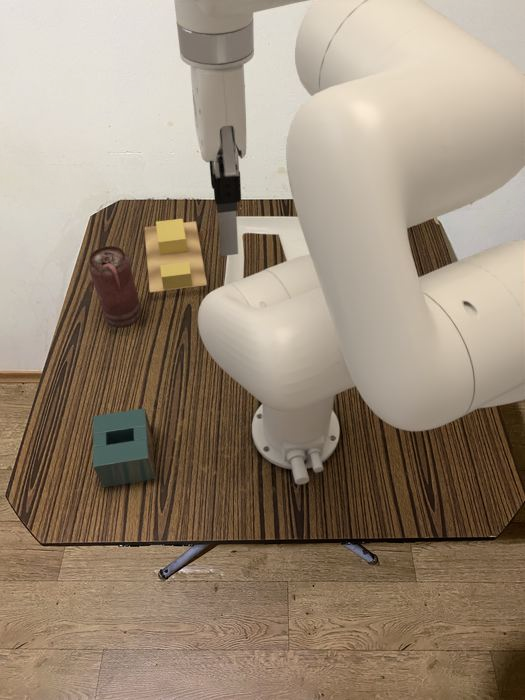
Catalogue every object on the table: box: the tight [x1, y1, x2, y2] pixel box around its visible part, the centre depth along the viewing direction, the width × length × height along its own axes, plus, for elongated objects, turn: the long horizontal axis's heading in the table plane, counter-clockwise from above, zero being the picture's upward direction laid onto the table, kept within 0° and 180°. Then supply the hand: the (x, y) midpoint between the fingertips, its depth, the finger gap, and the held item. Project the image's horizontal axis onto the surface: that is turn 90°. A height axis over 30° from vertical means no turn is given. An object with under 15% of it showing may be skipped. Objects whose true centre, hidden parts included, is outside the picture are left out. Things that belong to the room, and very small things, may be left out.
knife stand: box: [92, 407, 156, 489], centre depth 78 cm, size 8×7×6 cm
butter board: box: [144, 221, 208, 293], centre depth 106 cm, size 18×10×2 cm, turn 10°
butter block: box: [155, 218, 187, 255], centre depth 107 cm, size 6×5×3 cm
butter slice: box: [160, 262, 192, 291], centre depth 100 cm, size 3×5×3 cm, turn 100°
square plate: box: [223, 215, 310, 286], centre depth 102 cm, size 27×27×4 cm
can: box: [87, 245, 142, 329], centre depth 92 cm, size 6×6×14 cm
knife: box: [212, 159, 239, 257], centre depth 73 cm, size 2×3×15 cm
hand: (226, 193), depth 71 cm, fingers closed on knife, 2 cm apart
